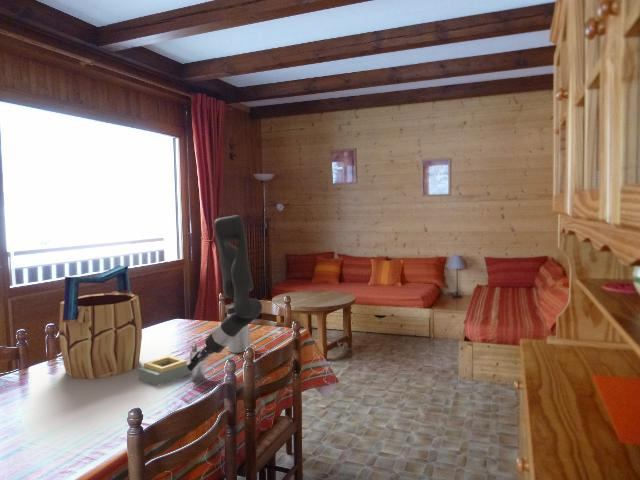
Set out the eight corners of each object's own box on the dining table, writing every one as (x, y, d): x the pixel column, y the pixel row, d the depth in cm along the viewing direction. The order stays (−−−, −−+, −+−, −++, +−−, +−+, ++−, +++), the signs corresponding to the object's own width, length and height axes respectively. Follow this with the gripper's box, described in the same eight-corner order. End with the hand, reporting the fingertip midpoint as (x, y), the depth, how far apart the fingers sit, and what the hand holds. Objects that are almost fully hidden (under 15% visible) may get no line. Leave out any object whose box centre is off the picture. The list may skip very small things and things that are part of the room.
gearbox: (182, 364, 194) (181, 351, 194) (200, 370, 187) (200, 356, 187) (138, 378, 178) (137, 364, 178) (157, 385, 171) (156, 370, 171)
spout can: (199, 375, 181) (198, 341, 180) (207, 378, 178) (206, 343, 177) (188, 379, 177) (186, 344, 176) (196, 382, 174) (195, 346, 173)
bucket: (97, 352, 213) (93, 264, 211) (161, 354, 209) (157, 265, 206) (33, 383, 175) (27, 277, 172) (109, 387, 170) (104, 278, 168)
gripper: (223, 325, 181) (197, 353, 185) (203, 335, 167) (175, 365, 171) (236, 339, 180) (209, 367, 184) (217, 350, 166) (189, 380, 170)
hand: (193, 366), depth 178 cm, fingers closed on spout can, 5 cm apart
